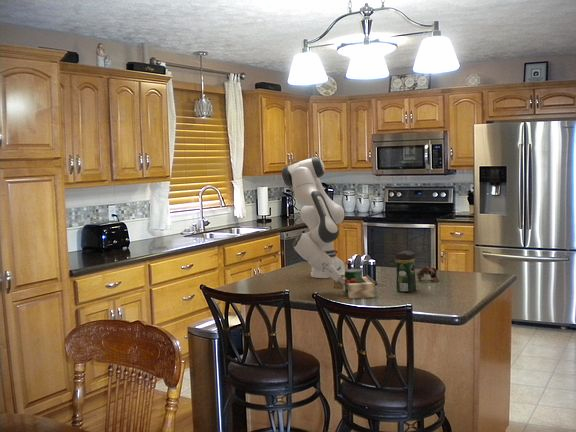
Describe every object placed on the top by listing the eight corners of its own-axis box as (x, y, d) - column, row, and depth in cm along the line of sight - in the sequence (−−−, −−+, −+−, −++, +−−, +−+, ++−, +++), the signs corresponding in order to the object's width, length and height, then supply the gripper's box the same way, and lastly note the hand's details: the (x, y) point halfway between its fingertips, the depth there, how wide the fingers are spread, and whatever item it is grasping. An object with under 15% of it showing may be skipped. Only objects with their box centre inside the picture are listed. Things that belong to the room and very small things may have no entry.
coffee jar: (402, 288, 291) (401, 249, 290) (418, 289, 287) (417, 249, 285) (393, 292, 284) (392, 251, 282) (409, 293, 279) (408, 252, 278)
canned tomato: (343, 295, 281) (343, 271, 280) (347, 291, 288) (346, 268, 287) (361, 295, 278) (360, 271, 278) (364, 292, 286) (363, 268, 285)
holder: (349, 298, 274) (349, 283, 273) (343, 290, 293) (343, 276, 292) (375, 297, 274) (374, 281, 274) (367, 288, 293) (367, 274, 293)
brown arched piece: (434, 284, 300) (425, 270, 300) (420, 291, 306) (411, 277, 307) (445, 274, 309) (436, 260, 309) (430, 281, 315) (421, 267, 315)
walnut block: (337, 286, 304) (337, 278, 304) (346, 286, 302) (346, 278, 302) (333, 288, 300) (333, 280, 299) (343, 288, 298) (343, 280, 297)
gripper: (329, 260, 271) (352, 281, 272) (324, 254, 291) (345, 274, 293) (319, 271, 271) (342, 292, 272) (315, 264, 292) (336, 283, 293)
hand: (343, 282), depth 283 cm, fingers closed, pressing on canned tomato
